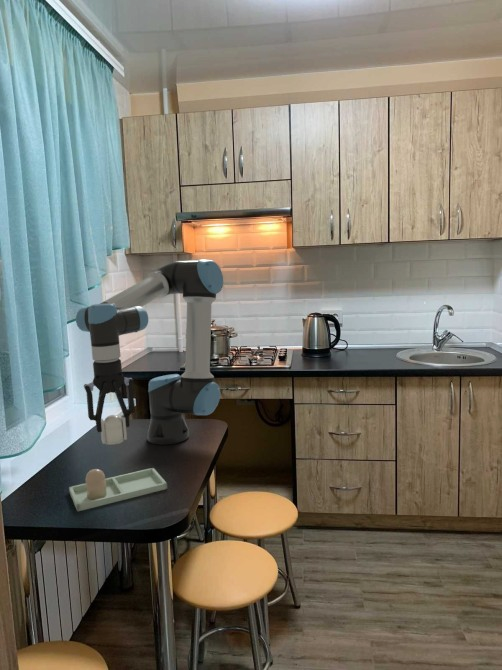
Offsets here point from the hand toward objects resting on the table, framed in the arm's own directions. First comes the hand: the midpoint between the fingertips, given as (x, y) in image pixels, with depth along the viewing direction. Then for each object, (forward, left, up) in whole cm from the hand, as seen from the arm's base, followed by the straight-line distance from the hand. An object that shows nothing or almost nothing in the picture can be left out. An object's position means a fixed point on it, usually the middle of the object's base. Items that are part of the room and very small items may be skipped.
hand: (114, 440), depth 146 cm
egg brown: (+7, +3, -14) cm, 16 cm away
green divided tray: (+1, +3, -15) cm, 15 cm away
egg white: (0, 0, 0) cm, 0 cm away
